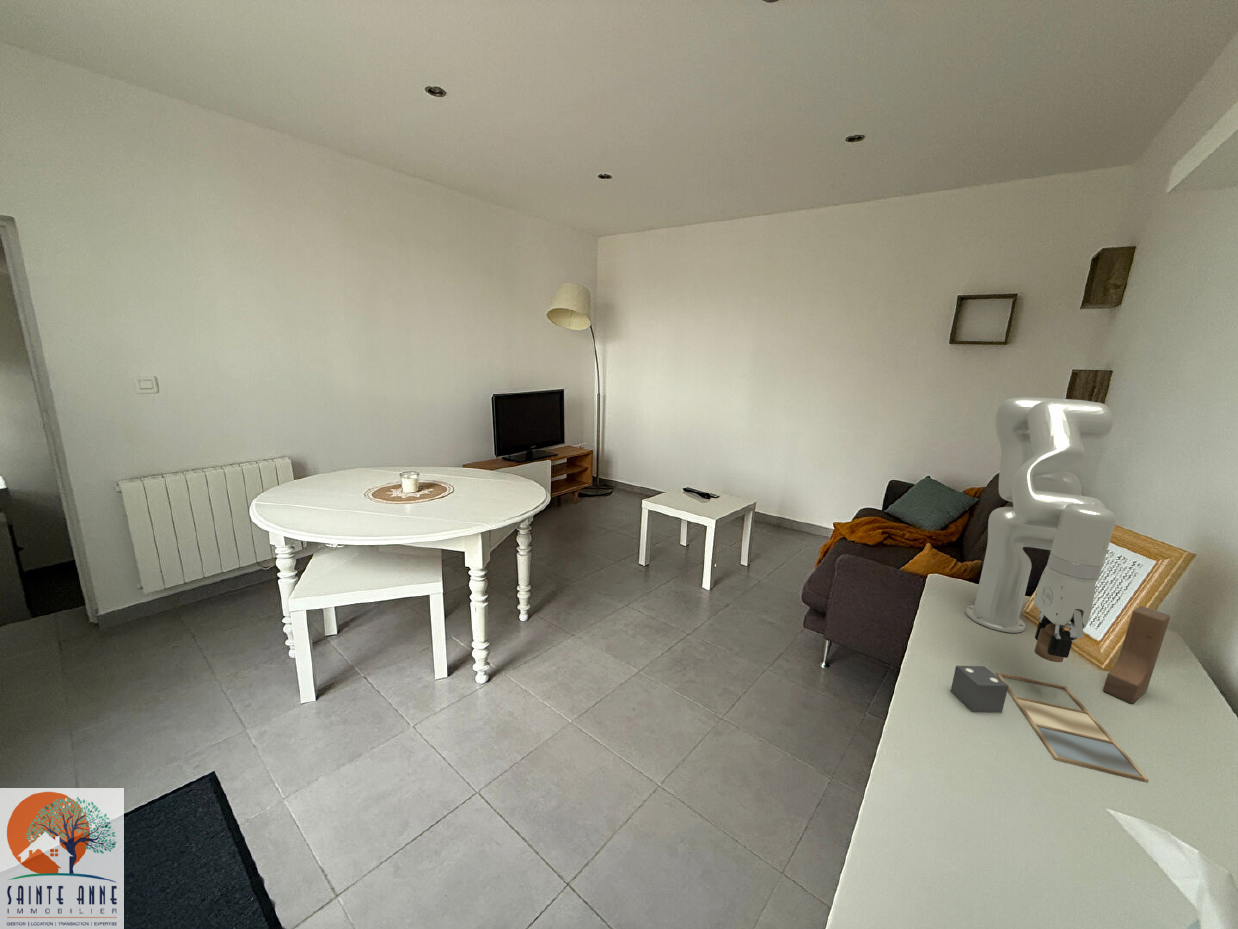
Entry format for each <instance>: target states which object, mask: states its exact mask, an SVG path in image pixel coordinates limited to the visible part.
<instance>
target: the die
mask: <svg viewBox="0 0 1238 929" xmlns="http://www.w3.org/2000/svg"><path fill="white" fill-rule="evenodd" d="M1006 683H1007V682H1006ZM1006 683H1004V682H1003V681H1002V680H1001V679H1000V678H998V676H997V675H996V673H993V672H992V671H991V670H990V669H989V668H988V667H986V666H985V665H984V666H983V665H955V668H954V674H953V678H952V683H951V688H950V692H951V693H952V694H953V695H954V696H955V697H956V698H957V699H958V700H959V701H960V702H962V704H963V705H964V706H965V707H966V708H967V709H968V710H969V711H970V712H972V713H1003V711H1004V710H1003V709H1004V705H1005V703H1006V702H1005V701H1006V699H1007V693H1008V691H1007V690H1008V686H1009V684H1008V683H1007V684H1006Z"/></svg>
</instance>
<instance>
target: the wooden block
mask: <svg viewBox="0 0 1238 929" xmlns="http://www.w3.org/2000/svg"><path fill="white" fill-rule="evenodd" d="M1170 619H1171V616H1170V615H1169V614H1167V613H1163V612H1160V611H1158V610H1154V609H1152V608H1148V607H1145V606H1143V605H1140V606H1138V607H1137V608H1135V609H1134V610H1132V613H1131V616H1130V620H1129V623H1128V626H1127V629H1126V632H1125V637H1124V640H1123V642H1122V646H1121V649H1120V653H1119V655H1118V658H1117V659H1116V662H1115V664H1114V666H1113V668H1112V669H1110V671H1109V672H1108V673H1107V675H1106V679H1105V682H1104V686H1103V689H1102V690H1103V692H1105V693H1107V694H1109V695H1111V696H1113V697H1116V698H1118V699H1120V700H1122V701H1124V702H1127V703H1129V704H1133V703H1135V701H1137V700H1138V699H1139V698H1140V697H1141V696H1143V695H1144V694H1145V693H1146V692H1147V691H1148V689H1149V688H1148V687H1149V685H1150V682H1151V679H1152V675H1153V672H1154V669H1155V666H1156V664H1157V663H1156V662H1157V660H1158V657H1159V653H1160V651H1161V647H1162V644H1163V642H1164V638H1165V634H1166V632H1167V628H1168V625H1169V622H1170Z"/></svg>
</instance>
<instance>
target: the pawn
mask: <svg viewBox="0 0 1238 929" xmlns="http://www.w3.org/2000/svg"><path fill="white" fill-rule="evenodd" d="M1055 628H1056V625H1055V624H1053V623H1050V624H1048V625H1046V627H1045V628H1041V629H1040V633H1039V636H1038V640H1036V644H1035V648H1034V653H1035V654H1036V655H1037V656H1038V657H1040V658H1042V659H1045V660H1047V661H1049V662H1053V663H1062V662H1063V661H1064V657H1059V656H1054V655H1049V654H1048V652H1047V650H1048V647H1049V643H1050V640H1051V636H1055ZM1065 630H1066V629H1065V627H1062V632H1063V631H1065Z"/></svg>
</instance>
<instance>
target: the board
mask: <svg viewBox="0 0 1238 929" xmlns="http://www.w3.org/2000/svg"><path fill="white" fill-rule="evenodd" d="M995 675H996V676H997V677H998V678H1000V679H1001V680H1002V681H1003V682H1004V683H1006V684H1007V685H1008V683H1007V682H1006V680H1005V679H1004V678H1007V679H1012V680H1016V681H1022V682H1027V683H1031V684H1037V685H1042V686H1045V687H1051V688H1056V689H1061V690H1064V691H1065V692H1066V693H1067V694H1068V696H1069V697H1070V698H1071V699H1072V700H1073V701H1074V703H1075V704H1076V705H1077V706H1078V708H1080V709H1077V708H1073V707H1067V706H1064V705H1063V706H1062V705H1058V704H1054V703H1050V702H1049V703H1048V702H1044V701H1041V700H1035V699H1030V698H1024V697H1021V696H1016V695H1015V694H1014V692H1013V690H1012V689H1011V687H1010V686H1009V685H1008V690H1007V693H1009V695H1010V696H1011V698H1012V700H1013V701H1014V702H1015V704H1016V706H1017V707H1018V708H1019V710H1020V711H1021V713H1022V714H1023V716H1024V717H1025V718H1026V720H1027V722H1028V723H1029V724H1030V726H1031V727H1032V729H1033V730H1034V731H1035V733H1036V735H1037V736H1038V737H1039V739H1040V740H1041V742H1042V743H1043V745H1044V746H1045V747H1046V749H1047V750H1048V752H1049V753H1050V755H1051V757H1052V758H1053V759H1054V760H1055V761H1059V762H1063V763H1067V764H1071V765H1076V766H1080V767H1082V768H1083V767H1084V768H1088V769H1092V770H1096V771H1100V772H1104V773H1108V774H1112V775H1116V776H1120V777H1125V778H1128V779H1133V780H1137V781H1141V782H1145V783H1149V781H1150V780H1149V778H1148V777H1147V776H1146V775H1145V774H1144V773H1143V771H1142V770H1141V769H1140V768H1139V767H1138V766H1137V765H1136V763H1134V761H1133V759H1131V758H1130V757H1129V756H1128V754H1126V752H1125V751H1124V750H1123V749H1122V747H1121V746H1120V745H1119V744H1118V743H1117V742H1116V741H1115V739H1113V737H1112V736H1111V735H1110V734H1109V733H1108V731H1106V730H1105V729H1104V727H1103V726H1102V725H1101V724H1100V723H1099V721H1098V720H1097V719H1096V718H1095V717H1094V716H1093V715H1092V714H1091V713H1090V712H1089V710H1088V709H1087V708H1086V707H1085V706H1084V705H1083V703H1082V702H1081V701H1080V699H1078V698H1077V696H1075V694H1074V693H1073V692H1072V691H1071V690H1070V688H1069V687H1068V686H1066V685H1060V684H1056V683H1051V682H1046V681H1041V680H1037V679H1031V678H1026V677H1022V676H1017V675H1012V674H1007V673H1002V672H998V671H997V672H995Z"/></svg>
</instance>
